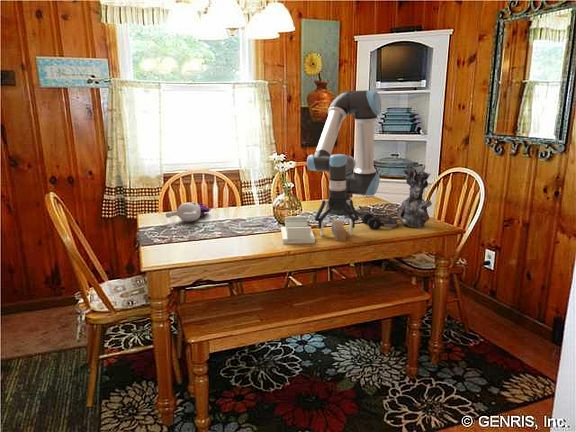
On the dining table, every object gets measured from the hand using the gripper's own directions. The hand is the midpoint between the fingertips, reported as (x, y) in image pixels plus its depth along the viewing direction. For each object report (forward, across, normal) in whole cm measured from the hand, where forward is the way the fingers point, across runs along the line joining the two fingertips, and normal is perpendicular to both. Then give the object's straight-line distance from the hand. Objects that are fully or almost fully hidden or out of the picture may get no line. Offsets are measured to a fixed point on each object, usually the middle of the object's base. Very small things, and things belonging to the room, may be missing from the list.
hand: (336, 235), depth 202 cm
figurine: (0, -70, +31) cm, 76 cm away
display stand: (0, -18, -1) cm, 18 cm away
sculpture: (0, +41, +14) cm, 43 cm away
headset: (+1, +23, +15) cm, 28 cm away
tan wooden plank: (0, +1, 0) cm, 1 cm away
